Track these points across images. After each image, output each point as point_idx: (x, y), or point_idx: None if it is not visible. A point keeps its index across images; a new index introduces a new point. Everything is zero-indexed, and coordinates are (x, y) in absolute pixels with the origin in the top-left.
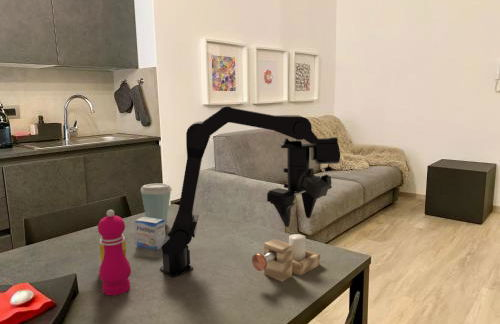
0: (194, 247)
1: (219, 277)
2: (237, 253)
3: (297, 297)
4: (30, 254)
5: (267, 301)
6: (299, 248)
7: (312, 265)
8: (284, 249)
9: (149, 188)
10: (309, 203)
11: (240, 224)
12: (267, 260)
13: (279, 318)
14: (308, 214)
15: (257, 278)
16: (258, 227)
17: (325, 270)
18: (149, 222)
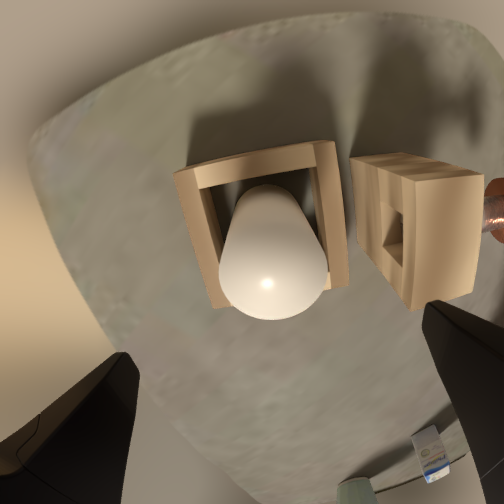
0: (389, 422)
1: (475, 287)
2: (353, 376)
3: (420, 54)
4: None
5: (483, 108)
6: (292, 212)
7: (237, 155)
8: (467, 174)
9: None
10: (73, 464)
11: (224, 461)
12: (491, 197)
13: (490, 45)
14: (120, 381)
15: None
16: (196, 442)
17: (202, 115)
18: (449, 467)
